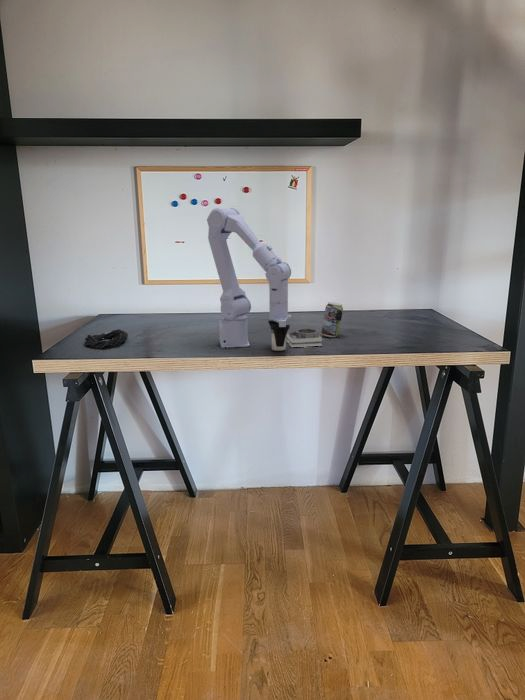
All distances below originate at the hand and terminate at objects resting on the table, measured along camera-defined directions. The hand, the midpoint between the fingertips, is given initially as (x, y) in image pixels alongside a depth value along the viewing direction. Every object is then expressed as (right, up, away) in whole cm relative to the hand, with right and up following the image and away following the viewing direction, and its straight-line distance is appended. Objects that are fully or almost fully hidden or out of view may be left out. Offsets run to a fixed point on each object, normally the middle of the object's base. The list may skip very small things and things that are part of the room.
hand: (278, 344), depth 163 cm
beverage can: (+19, +3, +18) cm, 26 cm away
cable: (-59, 0, +12) cm, 60 cm away
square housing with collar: (+9, 0, +7) cm, 11 cm away
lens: (0, -1, 0) cm, 1 cm away
